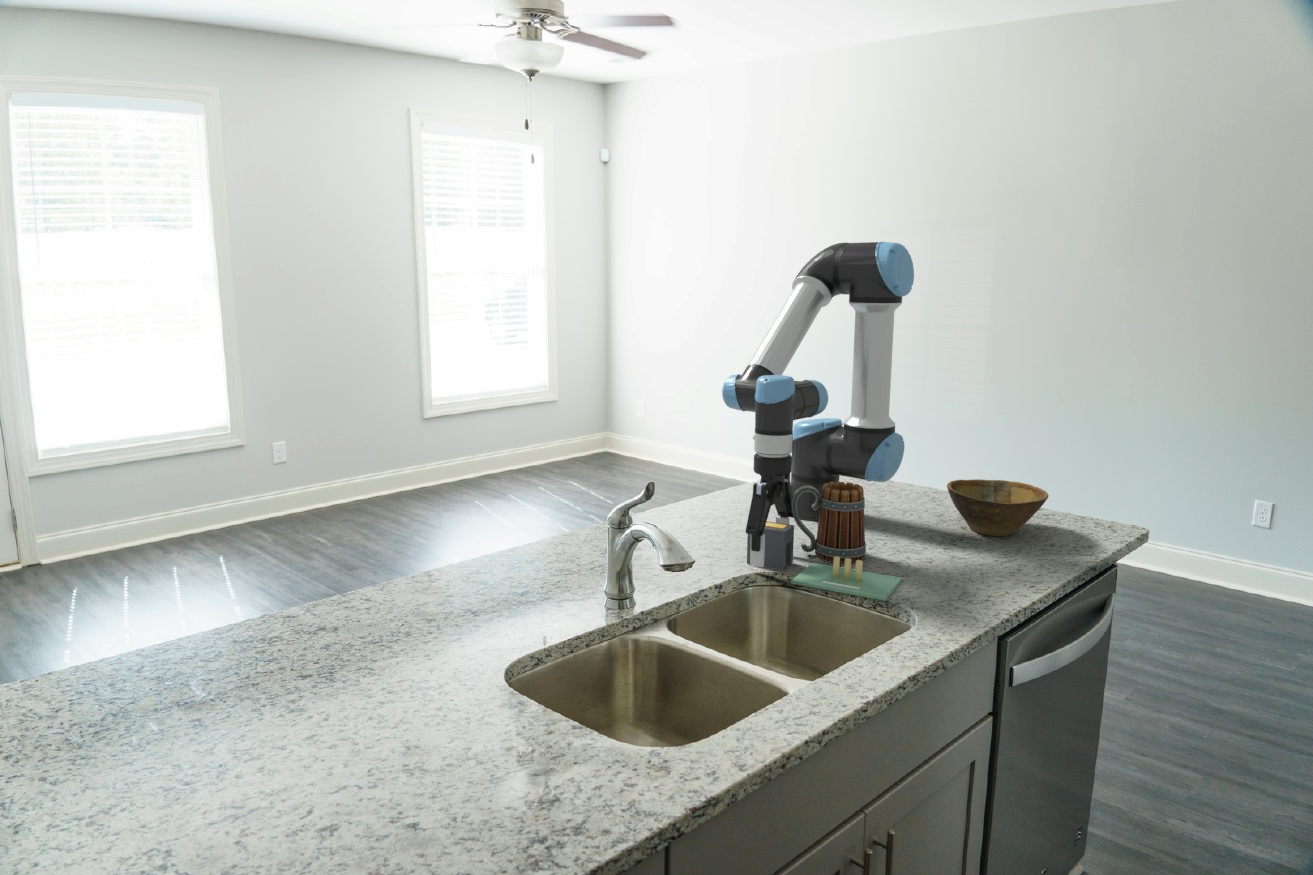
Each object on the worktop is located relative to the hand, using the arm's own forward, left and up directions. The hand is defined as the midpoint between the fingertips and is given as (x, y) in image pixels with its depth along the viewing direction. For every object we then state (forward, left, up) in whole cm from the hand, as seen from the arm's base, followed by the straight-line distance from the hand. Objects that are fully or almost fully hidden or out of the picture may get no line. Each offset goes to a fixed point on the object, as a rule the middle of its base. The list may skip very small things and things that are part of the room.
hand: (769, 556), depth 180 cm
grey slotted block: (0, 0, -1) cm, 1 cm away
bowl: (-47, +36, -2) cm, 59 cm away
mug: (-11, +9, -2) cm, 14 cm away
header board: (+3, +17, -1) cm, 17 cm away
